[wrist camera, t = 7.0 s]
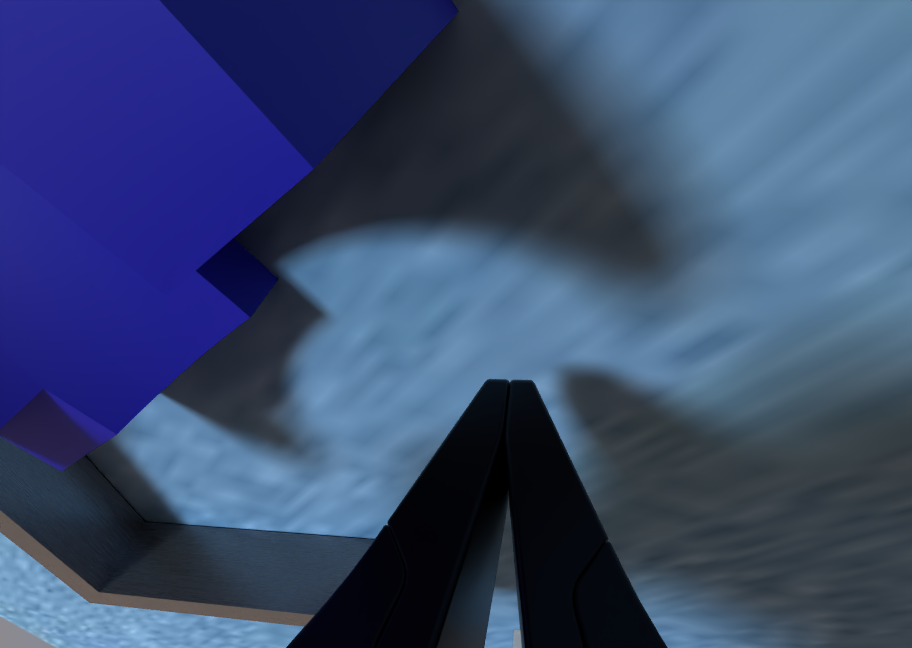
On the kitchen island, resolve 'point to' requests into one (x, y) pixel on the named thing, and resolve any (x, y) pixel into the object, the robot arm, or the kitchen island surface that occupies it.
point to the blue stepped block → (158, 182)
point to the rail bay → (163, 550)
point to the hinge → (517, 639)
